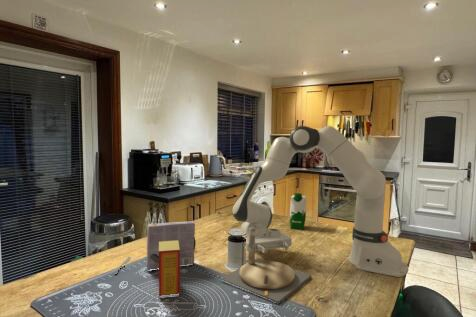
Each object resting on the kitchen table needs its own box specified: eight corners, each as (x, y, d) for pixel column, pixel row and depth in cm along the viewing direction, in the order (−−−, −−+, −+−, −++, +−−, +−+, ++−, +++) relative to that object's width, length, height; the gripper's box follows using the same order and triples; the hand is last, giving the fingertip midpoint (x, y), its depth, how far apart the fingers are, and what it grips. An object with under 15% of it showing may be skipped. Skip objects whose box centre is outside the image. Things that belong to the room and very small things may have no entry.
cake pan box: (194, 260, 130) (194, 219, 128) (197, 265, 125) (197, 222, 123) (146, 267, 123) (146, 223, 121) (147, 272, 118) (147, 227, 116)
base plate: (311, 277, 116) (311, 274, 116) (278, 304, 97) (278, 300, 97) (258, 260, 131) (258, 257, 131) (220, 281, 112) (220, 277, 112)
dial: (289, 264, 124) (290, 226, 123) (299, 289, 104) (300, 244, 103) (239, 263, 124) (240, 225, 123) (239, 288, 104) (240, 243, 103)
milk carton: (288, 229, 175) (289, 193, 173) (290, 224, 184) (291, 191, 182) (304, 230, 172) (305, 195, 171) (305, 226, 181) (306, 192, 180)
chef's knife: (136, 256, 135) (129, 256, 134) (136, 253, 134) (129, 253, 134) (121, 276, 116) (113, 276, 115) (121, 273, 115) (113, 273, 115)
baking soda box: (159, 284, 109) (158, 240, 107) (178, 283, 110) (178, 239, 109) (159, 299, 100) (158, 250, 98) (179, 296, 101) (179, 248, 100)
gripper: (239, 233, 131) (252, 244, 118) (281, 228, 138) (298, 238, 126) (239, 248, 132) (252, 260, 119) (281, 242, 139) (298, 253, 126)
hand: (276, 249), depth 122 cm, fingers open, 8 cm apart
